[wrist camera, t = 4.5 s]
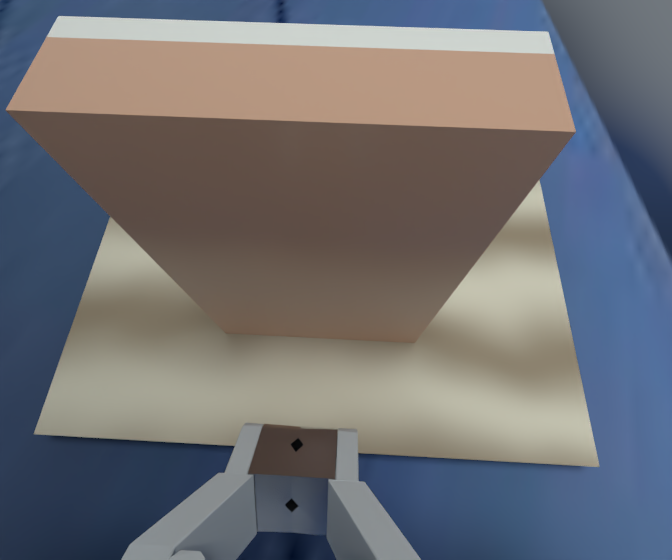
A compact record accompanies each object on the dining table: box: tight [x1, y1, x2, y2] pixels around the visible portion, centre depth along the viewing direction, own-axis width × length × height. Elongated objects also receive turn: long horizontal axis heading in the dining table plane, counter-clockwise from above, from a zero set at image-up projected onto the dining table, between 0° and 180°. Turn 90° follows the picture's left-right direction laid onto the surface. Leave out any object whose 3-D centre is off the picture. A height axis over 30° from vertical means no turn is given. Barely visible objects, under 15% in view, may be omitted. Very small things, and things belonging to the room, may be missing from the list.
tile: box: [6, 16, 576, 343], centre depth 12 cm, size 9×2×13 cm, turn 87°
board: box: [34, 180, 599, 467], centre depth 21 cm, size 24×24×1 cm
